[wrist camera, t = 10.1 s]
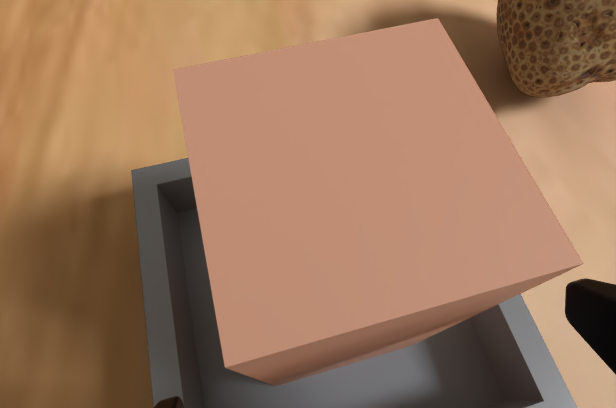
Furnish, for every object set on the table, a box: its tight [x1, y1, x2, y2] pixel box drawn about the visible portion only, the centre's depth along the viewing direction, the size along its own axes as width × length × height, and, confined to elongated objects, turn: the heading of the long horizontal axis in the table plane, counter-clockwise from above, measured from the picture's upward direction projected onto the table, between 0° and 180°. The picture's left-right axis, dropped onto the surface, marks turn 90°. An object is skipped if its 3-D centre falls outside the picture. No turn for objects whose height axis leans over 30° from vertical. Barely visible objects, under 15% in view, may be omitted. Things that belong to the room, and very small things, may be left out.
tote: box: [131, 158, 577, 408], centre depth 17 cm, size 14×14×4 cm
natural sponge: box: [497, 0, 616, 97], centre depth 21 cm, size 9×9×10 cm
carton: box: [173, 18, 583, 386], centre depth 13 cm, size 6×6×12 cm
